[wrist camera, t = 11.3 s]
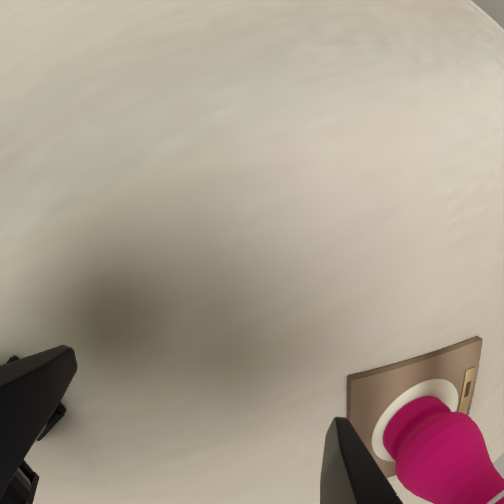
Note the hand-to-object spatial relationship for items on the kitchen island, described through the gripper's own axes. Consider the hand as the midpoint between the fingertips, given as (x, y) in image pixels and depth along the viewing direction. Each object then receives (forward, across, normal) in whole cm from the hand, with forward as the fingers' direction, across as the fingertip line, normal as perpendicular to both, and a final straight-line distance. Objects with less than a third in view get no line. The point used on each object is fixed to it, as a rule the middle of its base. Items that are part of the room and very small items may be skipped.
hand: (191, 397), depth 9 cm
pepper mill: (+11, -16, +12) cm, 23 cm away
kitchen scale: (+12, -16, +12) cm, 23 cm away
